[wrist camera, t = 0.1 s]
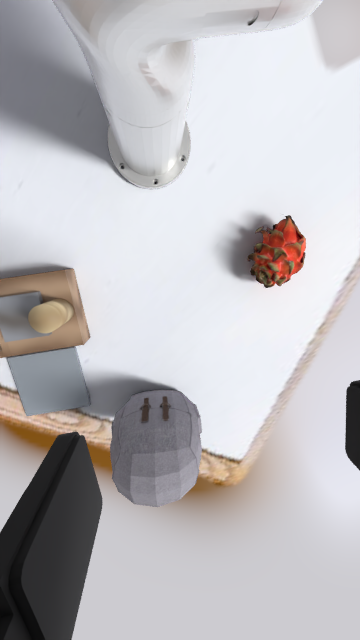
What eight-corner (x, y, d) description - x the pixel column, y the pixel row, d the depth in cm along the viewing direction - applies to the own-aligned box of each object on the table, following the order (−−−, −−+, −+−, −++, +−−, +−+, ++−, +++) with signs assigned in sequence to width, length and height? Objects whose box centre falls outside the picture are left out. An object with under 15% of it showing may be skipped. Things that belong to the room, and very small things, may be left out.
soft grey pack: (121, 420, 49) (96, 523, 30) (117, 382, 47) (87, 467, 28) (195, 414, 50) (217, 511, 31) (194, 377, 48) (218, 455, 29)
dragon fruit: (247, 288, 47) (267, 226, 46) (294, 299, 43) (317, 232, 42) (235, 277, 39) (259, 203, 38) (291, 289, 35) (319, 207, 34)
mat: (9, 357, 44) (7, 358, 44) (75, 346, 45) (74, 347, 44) (28, 414, 47) (26, 416, 47) (90, 403, 48) (89, 405, 47)
